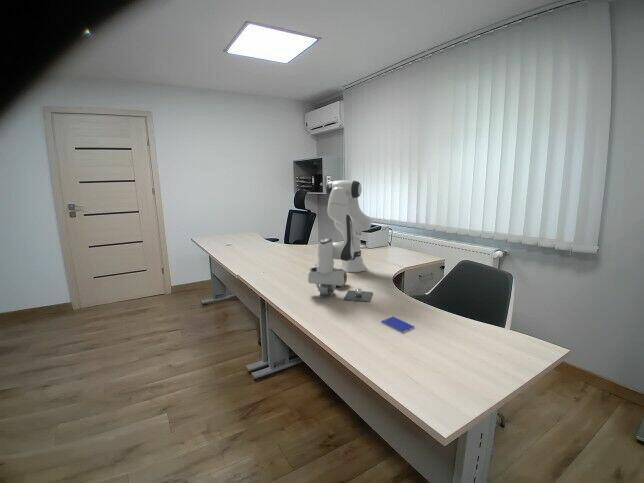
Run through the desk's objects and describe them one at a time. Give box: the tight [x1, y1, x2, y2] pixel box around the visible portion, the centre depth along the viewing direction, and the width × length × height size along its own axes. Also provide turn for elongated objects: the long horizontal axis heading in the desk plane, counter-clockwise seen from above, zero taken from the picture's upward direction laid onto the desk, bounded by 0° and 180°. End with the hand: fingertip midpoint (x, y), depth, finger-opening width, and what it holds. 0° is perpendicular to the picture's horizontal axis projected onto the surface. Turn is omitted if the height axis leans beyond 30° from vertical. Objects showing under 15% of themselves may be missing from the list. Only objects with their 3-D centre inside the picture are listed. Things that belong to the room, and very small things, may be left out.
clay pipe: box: [336, 269, 348, 288], centre depth 203 cm, size 19×11×15 cm
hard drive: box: [380, 316, 416, 334], centre depth 146 cm, size 2×8×12 cm
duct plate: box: [343, 288, 373, 303], centre depth 181 cm, size 14×14×4 cm
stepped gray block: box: [319, 284, 334, 297], centre depth 183 cm, size 10×6×6 cm, turn 165°
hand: (326, 291), depth 184 cm, fingers closed on stepped gray block, 6 cm apart
